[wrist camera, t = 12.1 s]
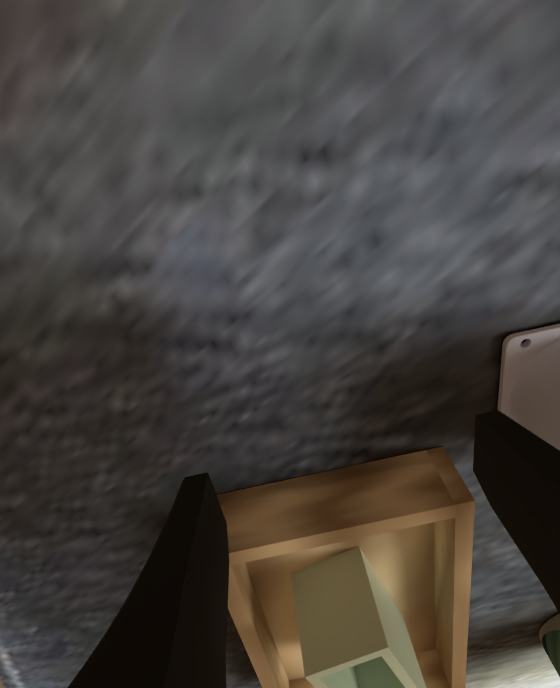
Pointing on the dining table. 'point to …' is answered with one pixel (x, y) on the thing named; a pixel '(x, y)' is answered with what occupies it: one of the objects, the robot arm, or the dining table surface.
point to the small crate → (351, 627)
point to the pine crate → (377, 545)
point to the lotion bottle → (552, 640)
